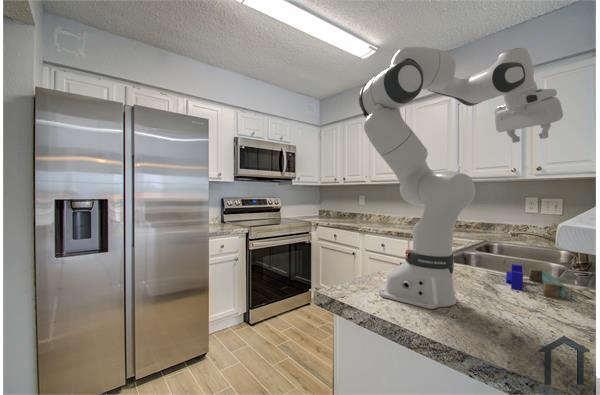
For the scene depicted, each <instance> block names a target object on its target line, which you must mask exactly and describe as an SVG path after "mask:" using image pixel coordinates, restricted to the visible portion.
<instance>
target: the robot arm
mask: <svg viewBox="0 0 600 395" xmlns="http://www.w3.org/2000/svg"><path fill="white" fill-rule="evenodd" d="M456 64H457V63H456V60H455V58H454V56H453V54H451V53H450V52H447V51H445V50H442V49H438V48H433V47H425V46H407V47H406V46H405V47H403V48H401V49H399V50H398V51H397V52H396V53H395V54H394V56H393V57H392V59H391V63H390V66H389V67H388V68H387V69H385V70H383V71H381V72H379V73H378V74H376V75H375V76H373V78H371V79H370V80H369V81H367V83H365V84H364V85H363V87H362V88H361V90H360V92H359V95H358V104H359V107H360V109H361V111H362V113H363V116H364V118H366V119H365V120H364V124H363V130H364V133H365V134H366V137H367V138H368V139H369V141H370V143H371V144H372V146H373V147H374V149H375V150H376V152H377V153H378V154H379V155H380V156H381V158H382V159H383V160H384V162H385V163H386V164H387V165H388V167H389V168H390V169H391V170H392V172H394V175H395V176H396V178H397V179H398V183H399V185H400V186H399V194H400V196H401V198H402V199H403V200H404V201H405V202H407V203H408V204H411V205H413V206H416V207H423V208H424V209H423V213H422V216H421V218H420V220H419V221H417V222H416V223H415V224H414V226H413V229H412V231H413V232H412V249H411V248H407V249H405V261H404V262H402V263H401V264H399V265H397V266H396V267H394V268H393V269H391V270H390V271H389V273H388V275H387V277H386V281H385V282H383V283H382V284H380V287H379V289H378V293H379V295H380V296H381V297H382V298H386V299H390V300H393V301H398V302H401V303H405V304H410V305H413V306H418V307H421V308H426V309H428V310H434V309H438V308H441V307H442V308H443V307H451V306H454V305H455V304H457V302H458V301H457V296H456V292H455V287H454V280H453V273H454V268H455V266H454V265H455V259H454V254H453V241H454V240H453V237H454V236H453V235H454V230H455V226H456V222H457V221H458V218H459V216H460V215H461V213H462V212H463V210H464V209H465V208H467V207H468V206H470V204H471V203H473V201H474V198H475V197H476V191H477V190H476V184H475V182H474V180H473V179H472V177H471V176H469V175H468V174H466V173H463V172H459V171H458V172H457V171H452V170H447V171H446V170H445V171H443V170H442V171H433V170H432V169H431V168H429V166H428V164H427V161H426V160H427V157H428V155H429V154H428V149H427V148H426V146H425V145H424V144H423V143H422V141H421V139H419V137H418V136H417V134H416V133H415V132H414V131H413V130H412V128H411V127H410V126H409V125H408V123H406V121H405V120H404V119H403V117H402V114H401V111H400V110H401V109H400V108H401V107H402V106H404V105H406V104H408V103H411V101H414V100H415V98H417V96H419V95H420V93H421V91H422V90H427V91H429V92H431V93H433V94H437V95H441V96H445V97H449V98H452V99H455V100H457V101H458V102H460V103H461V104H463V105H464V106H467V107H472V106H476V105H479V104H481V103H483V102H485V101H489V100H491V99H494V98H498V97H500V96H503V101H504V104H502V105H499V106H497V107H496V108H495V110H494V123H495V129H496V131H497V133H503V132H506V133H507V136H509V138H511V142H512V143H520V141H521V138H520V136H517V134H516V130H519V129H526V128H530V127H531V128H532V127H535V126H540V128H541V129H542V131H541V132H540V133H538V136H539V139H540V140H542V139H547V138H549V130H550V129H551V126H552V125H551V124H552V123H556V122H558V121H559V122H560V121H561V119H562V118H563V116H564V113H563V112H564V111H563V107H562V103H561V101H560V99H559V98H558V97H556V96H557V93H558V92H557V90H556V89H555V88H538V85H537V83H536V81H535V79H534V78H535V77H534V75H535V71H534V69H535V68H534V64H533V61H532V59H531V55H530V53H529V52H528V50H527V49H526V48H524V47H516V48H512V49H509V50H506V51H503V52H502V53H500V54H499V55H498V57H497V60H496V61H495V63H494V64H492V65H491V66H490V67H488V68H486V69H484V70H482V71H480V72H477V73H475V74H473V75H470V76H467V77H464V78H458V77H455V74H456V70H457V68H456V67H457V66H456Z"/></svg>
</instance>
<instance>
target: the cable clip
mask: <svg viewBox="0 0 600 395" xmlns="http://www.w3.org/2000/svg"><path fill="white" fill-rule="evenodd" d="M523 280H524V272H523V265H521V264H513V263H512V264H511V271H506V276H505V283H506V284H510V287H511V288H510V289H511V290H516V291H520V292H521V291H523V288H524V286H523V285H524V284H523V282H524V281H523Z"/></svg>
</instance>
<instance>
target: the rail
mask: <svg viewBox="0 0 600 395" xmlns="http://www.w3.org/2000/svg"><path fill="white" fill-rule="evenodd" d="M528 273H529V274H528V280H529V281H530V282H537V283H541V284H543V296H544V297H547V298H548V297H549V298H554V299H562V300H565V292H566V286H565V285H564V284H563V283H562V282H560V281H559V280H558V279H557V278H555V277H554V276H553V275H551V274H550V273H549V272H548V271H547V270H542V269H532V268H529V272H528Z"/></svg>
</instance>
